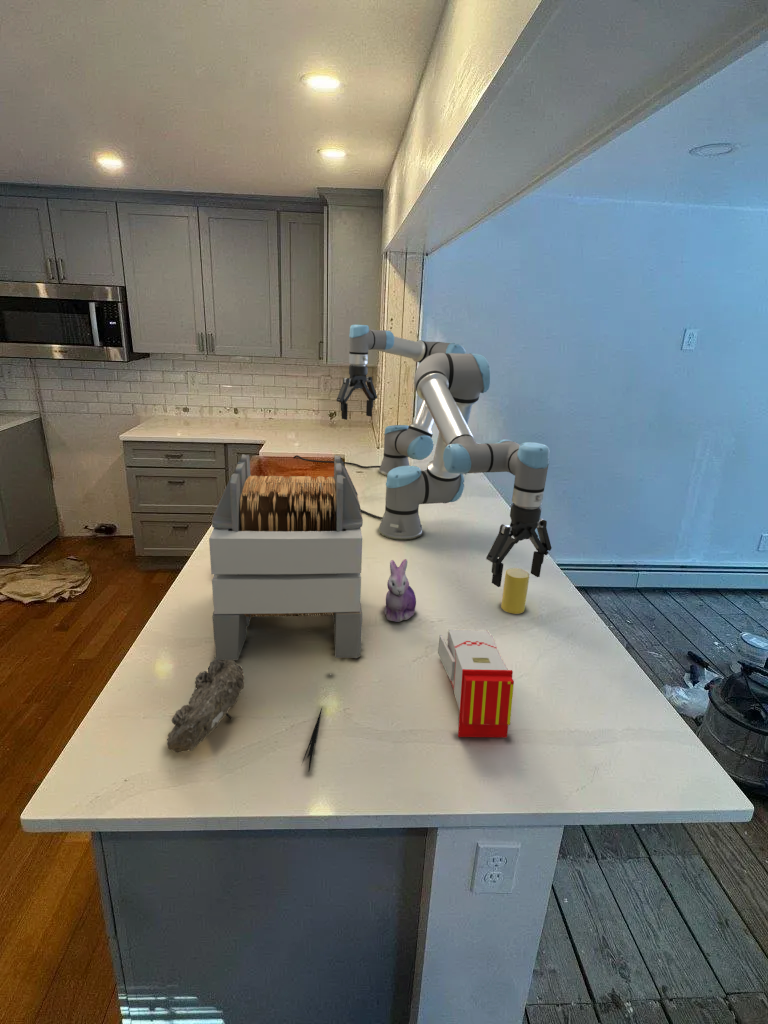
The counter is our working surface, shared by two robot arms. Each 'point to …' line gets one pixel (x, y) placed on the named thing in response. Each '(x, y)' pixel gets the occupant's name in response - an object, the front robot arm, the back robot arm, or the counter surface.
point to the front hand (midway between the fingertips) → (515, 579)
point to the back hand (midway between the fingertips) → (356, 417)
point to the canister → (515, 590)
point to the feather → (313, 740)
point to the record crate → (286, 555)
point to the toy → (478, 682)
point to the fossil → (206, 705)
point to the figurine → (399, 594)
